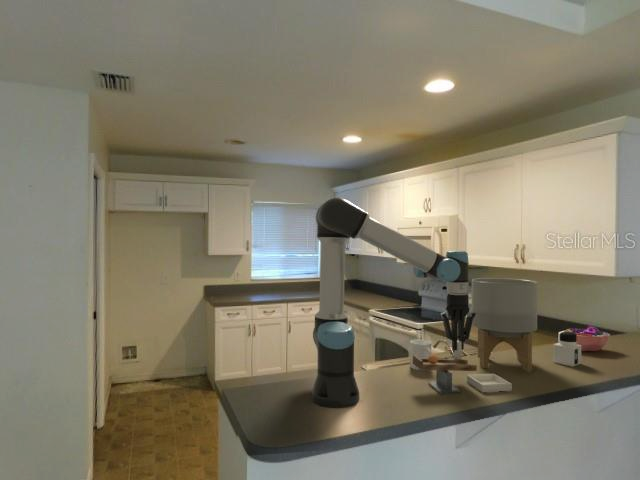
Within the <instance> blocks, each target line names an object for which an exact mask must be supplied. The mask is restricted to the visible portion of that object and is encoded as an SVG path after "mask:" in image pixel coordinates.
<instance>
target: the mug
mask: <svg viewBox="0 0 640 480" xmlns="http://www.w3.org/2000/svg"><path fill="white" fill-rule="evenodd" d="M413 355H415V356H417V357H418V358H424V359H428V357H429V356H430V355H433V352H432V341H430V340H426V339H412V340H410V342H409V367H410V368H411V369H413V370H415V371H419V372H420V371H421V372H423V371H426V370H420V369H419V368H417V367H416V366H415V365H414V364H413Z"/></svg>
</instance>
